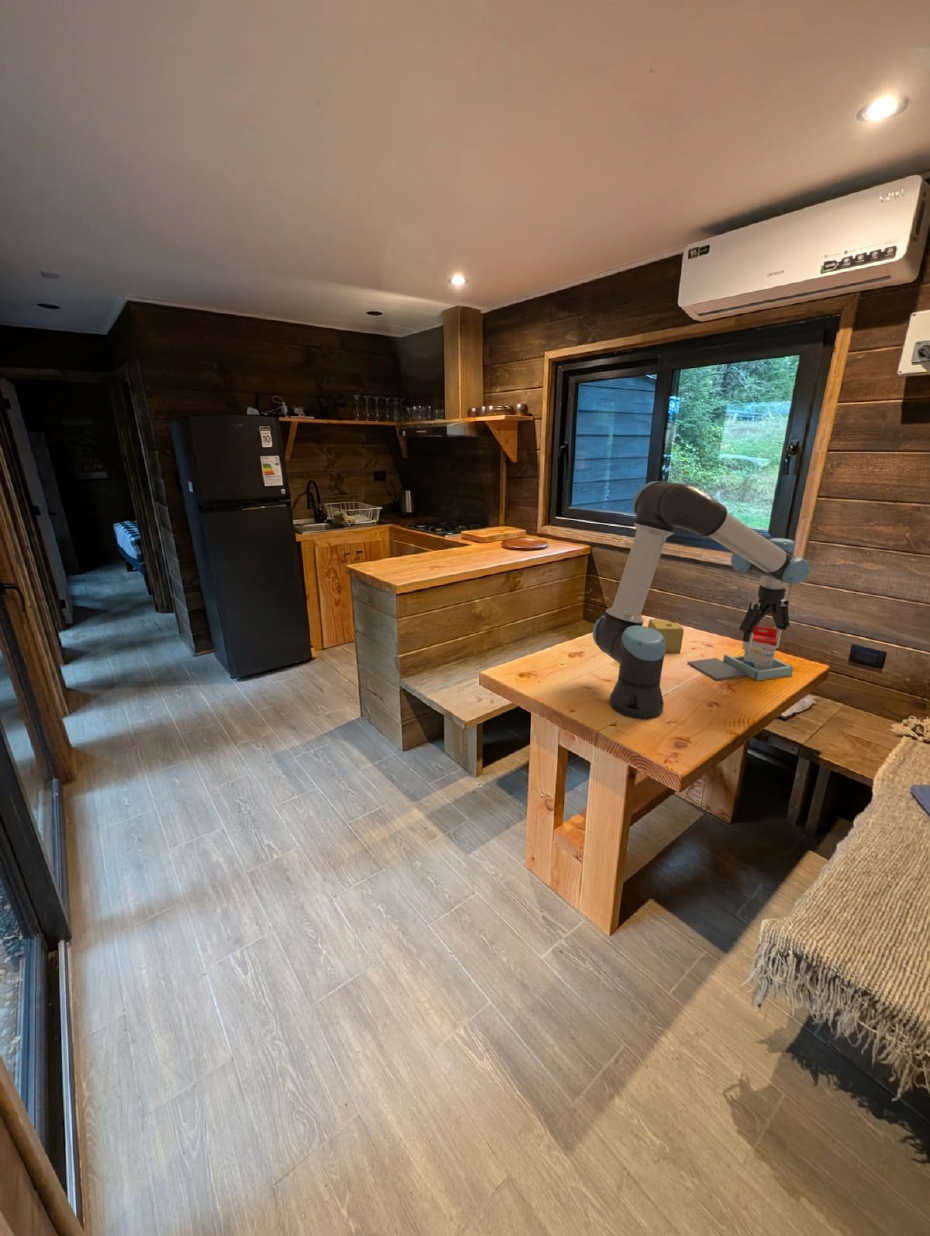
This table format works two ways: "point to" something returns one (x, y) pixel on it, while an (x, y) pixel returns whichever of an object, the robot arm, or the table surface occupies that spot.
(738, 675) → the slate pad
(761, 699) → the table surface
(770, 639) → the ink box
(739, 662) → the open picture frame
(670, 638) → the cheese
